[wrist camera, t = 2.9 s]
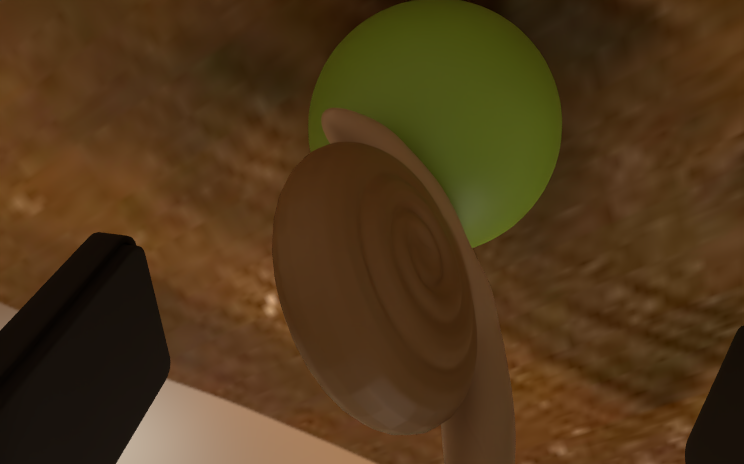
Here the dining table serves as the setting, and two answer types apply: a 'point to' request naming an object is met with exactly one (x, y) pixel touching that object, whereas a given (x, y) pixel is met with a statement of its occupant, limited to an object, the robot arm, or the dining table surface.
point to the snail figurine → (415, 219)
